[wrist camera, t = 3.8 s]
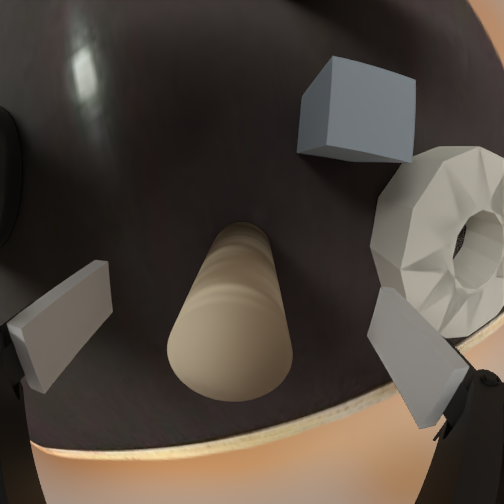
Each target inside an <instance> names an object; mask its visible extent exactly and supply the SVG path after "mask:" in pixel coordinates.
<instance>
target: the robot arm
mask: <svg viewBox="0 0 504 504" xmlns="http://www.w3.org/2000/svg"><path fill="white" fill-rule="evenodd" d="M21 188H22V156H21V148H20V142H19V137H18V133H17V130H16V127H15V124H14V122H13V120H12V118H11V116H10V115H9V113H8V112H7V111H6V110H5V109H4V108H2V107H0V247H1V246H2V245H3V244H4V243H5V242H6V240H7V239H8V237H9V235H10V233H11V231H12V229H13V227H14V224H15V221H16V217H17V213H18V209H19V204H20V197H21ZM112 312H113V309H112V300H111V290H110V279H109V266H108V261H101V260H94V261H93V262H91V263H90V264H88V265H87V266H85V267H84V268H82V269H81V270H79V271H78V272H76V273H75V274H73V275H72V276H70V277H69V278H67V279H66V280H64V281H63V282H62V283H60V284H59V285H57V286H56V287H54V288H53V289H52V290H50V291H49V292H47V293H46V294H45V295H43V296H42V297H40V298H39V299H38V300H36V301H34V302H32V303H30V304H29V305H28V306H26V307H25V309H22V310H21V311H20V312H19V313H17V314H16V315H14V316H13V317H12V318H10V319H9V320H8V321H7V322H5V323H4V324H3V325H1V326H0V504H46V501H45V498H44V495H43V491H42V489H41V485H40V481H39V478H38V474H37V470H36V466H35V463H34V458H33V454H32V449H31V444H30V439H29V433H28V427H27V420H26V413H25V405H24V395H23V387H22V384H21V382H20V380H21V379H22V378H23V377H24V375H25V377H26V380H27V382H28V384H29V387H30V388H32V389H34V390H36V391H39V392H41V393H43V394H45V393H46V391H47V390H48V389H49V388H50V386H51V385H52V384H53V383H54V381H55V380H56V379H57V377H58V376H59V375H60V374H61V372H62V371H63V370H64V369H65V368H66V366H67V365H68V364H69V363H70V361H71V360H72V359H73V358H74V357H75V355H76V354H77V353H78V352H79V351H80V349H81V348H82V347H83V346H84V345H85V343H86V342H87V341H88V340H89V339H90V338H91V336H92V335H93V334H94V333H95V332H96V331H97V329H98V328H99V327H100V326H101V325H102V324H103V323H104V321H105V320H106V319H107V318H108V317H109V316H110V315H111V314H112ZM367 337H368V339H369V340H370V342H371V344H372V345H373V347H374V349H375V350H376V352H377V354H378V356H379V357H380V359H381V361H382V362H383V364H384V366H385V368H386V369H387V371H388V373H389V375H390V376H391V378H392V380H393V382H394V383H395V385H396V387H397V389H398V390H399V392H400V394H401V396H402V398H403V400H404V401H405V403H406V405H407V407H408V409H409V410H410V412H411V414H412V416H413V418H414V420H415V422H416V423H417V426H418V427H419V429H422V428H427V427H431V426H435V425H436V423H437V422H438V420H439V419H440V417H441V416H442V414H444V416H445V418H446V419H447V420H446V422H445V423H444V425H443V426H442V428H441V429H440V430H439V432H438V433H437V435H436V436H435V437H434V439H433V441H436V439H437V438H438V437H439V440H438V443H437V447H436V450H435V453H434V456H433V459H432V462H431V465H430V467H429V470H428V473H427V475H426V478H425V481H424V483H423V486H422V488H421V491H420V493H419V495H418V498H417V500H416V502H415V504H504V383H502V382H501V380H500V378H499V377H498V376H497V375H496V374H494V373H493V372H490V371H489V370H484V369H482V370H477V371H476V369H474V367H473V366H472V365H471V364H470V363H469V362H468V361H467V360H466V359H465V357H464V356H463V355H462V354H460V352H459V351H458V350H457V349H456V348H455V346H454V345H453V344H452V343H451V342H450V341H449V340H448V339H446V338H444V337H443V336H441V335H440V334H439V333H438V332H437V331H436V330H435V329H434V328H433V327H432V325H431V324H430V323H429V322H428V321H427V320H426V319H425V318H424V317H423V316H422V315H421V314H420V313H419V312H418V311H417V310H416V309H415V308H414V307H413V306H412V305H411V304H410V303H409V302H408V301H407V300H406V299H405V298H404V297H403V296H402V295H401V294H400V293H399V292H397V291H396V290H395V289H394V288H388V287H380V291H379V295H378V299H377V302H376V306H375V310H374V313H373V317H372V320H371V324H370V327H369V330H368V333H367Z"/></svg>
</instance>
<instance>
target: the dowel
mask: <svg viewBox="0 0 504 504" xmlns="http://www.w3.org/2000/svg"><path fill="white" fill-rule="evenodd" d="M167 354H168V359H169V362H170V365H171V367H172V369H173V371H174V372H175V374H176V375H177V377H178V378H179V379H180V380H181V381H182V382H183V383H184V384H185V385H186V386H188V387H189V388H190V389H192V390H193V391H195V392H197V393H199V394H201V395H203V396H206V397H209V398H212V399H216V400H220V401H230V402H238V401H247V400H251V399H255V398H258V397H261V396H263V395H265V394H267V393H269V392H271V391H272V390H274V389H275V388H276V387H278V386H279V385H280V384H281V383H282V382H283V380H284V379H285V378H286V376H287V375H288V373H289V371H290V368H291V365H292V359H293V350H292V346H291V341H290V336H289V331H288V326H287V321H286V316H285V312H284V307H283V302H282V297H281V293H280V288H279V283H278V279H277V274H276V270H275V265H274V260H273V256H272V251H271V247H270V242H269V240H268V238H267V236H266V234H265V233H264V232H263V231H262V230H261V229H260V228H259V227H257V226H256V225H254V224H251V223H247V222H236V223H232V224H229V225H227V226H226V227H224V228H223V229H222V230H221V231H220V232H219V233H218V234H217V236H216V238H215V240H214V242H213V244H212V246H211V248H210V250H209V252H208V254H207V256H206V258H205V260H204V262H203V264H202V266H201V269H200V271H199V273H198V275H197V277H196V279H195V281H194V283H193V285H192V288H191V290H190V292H189V294H188V296H187V298H186V300H185V303H184V305H183V307H182V309H181V311H180V313H179V316H178V318H177V320H176V322H175V324H174V327H173V329H172V331H171V333H170V336H169V339H168V344H167Z"/></svg>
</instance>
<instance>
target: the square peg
mask: <svg viewBox="0 0 504 504" xmlns="http://www.w3.org/2000/svg"><path fill="white" fill-rule="evenodd" d="M415 105H416V80H414V79H412V78H409V77H406V76H403V75H400V74H397V73H394V72H391V71H388V70H385V69H382V68H379V67H375V66H372V65H368V64H365V63H361V62H357V61H353V60H349V59H345V58H341V57H336V56H332V57H331V59H330V60H329V61H328V62H327V64H326V65H325V66H324V68H323V69H322V70H321V72H320V73H319V74H318V75H317V77H316V78H315V79H314V81H313V82H312V83H311V85H310V86H309V87H308V89H307V90H306V91H305V93H304V94H303V96H302V99H301V111H300V122H299V132H298V143H297V153H300V154H307V155H314V156H321V157H327V158H333V159H339V160H345V161H351V162H394V163H412V156H413V144H414V130H415Z"/></svg>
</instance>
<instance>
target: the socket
mask: <svg viewBox="0 0 504 504" xmlns="http://www.w3.org/2000/svg"><path fill="white" fill-rule="evenodd" d="M465 224H466V233H465V238H464V242H463V246H462V247H461V249H460V250H459V252H458V253H457V255H456V256H455V258H454V259H453V254H454V250H455V245H456V241H457V236H458V234H459V233H460V231H461V230H462V228H463V226H464V225H465ZM370 249H371V252H372V256H373V259H374V262H375V266H376V269H377V273H378V276H379V280H380V284H381V287H388V288H394V289H395V290H396V291H397V292H399V293H400V294H401V295H402V296H403V297H404V298H405V299H406V300H407V301H408V302H409V303H410V304H411V305H412V306H413V307H414V308H415V309H416V310H417V311H418V312H419V313H420V314H421V315H422V316H423V317H424V318H425V319H426V320H427V321H428V322H429V323H430V324H431V325H432V327H433V328H434V329H435V330H436V331H437V332H438V333H439V334H440V335H441V336H443V337H444V338H456V337H466V336H469V335H470V334H472V333H473V332H474V331H476V330H477V329H479V328H480V327H481V326H483V325H484V324H486V323H487V322H488V321H490V320H491V319H492V318H494V317H495V316H496V315H497V314H498V313H499V311H500V310H501V309H502V307H503V306H504V158H502V157H500V156H498V155H496V154H494V153H492V152H490V151H488V150H486V149H484V148H482V147H479V146H440V147H436V148H433V149H431V150H428V151H426V152H423V153H420V154H418V155H415V156H413V157H412V163H402V164H401V165H400V167H399V168H398V170H397V171H396V173H395V174H394V176H393V177H392V179H391V180H390V181H389V183H388V184H387V186H386V187H385V189H384V190H383V191H382V193H381V194H380V196H379V197H378V201H377V208H376V214H375V220H374V226H373V232H372V237H371V242H370Z"/></svg>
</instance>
